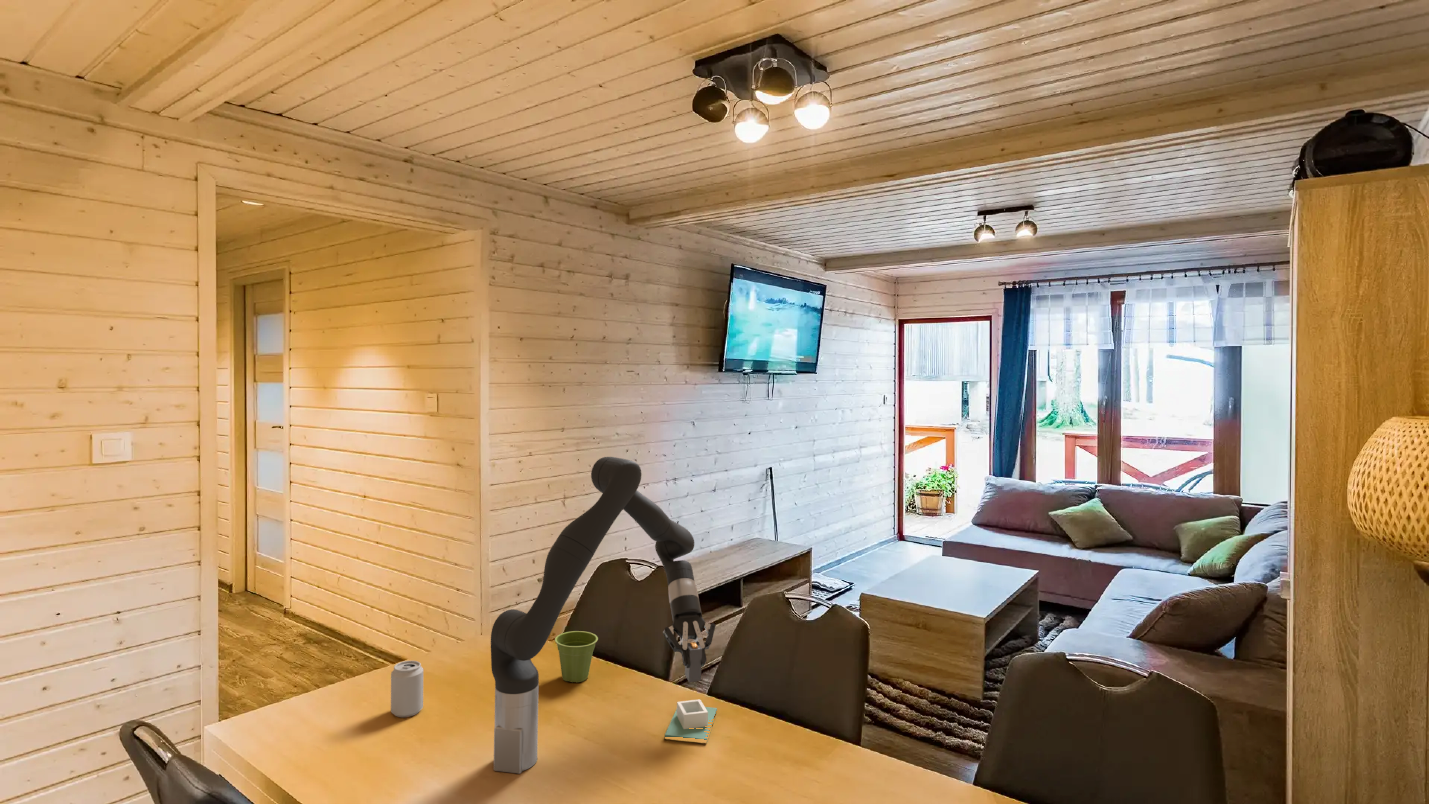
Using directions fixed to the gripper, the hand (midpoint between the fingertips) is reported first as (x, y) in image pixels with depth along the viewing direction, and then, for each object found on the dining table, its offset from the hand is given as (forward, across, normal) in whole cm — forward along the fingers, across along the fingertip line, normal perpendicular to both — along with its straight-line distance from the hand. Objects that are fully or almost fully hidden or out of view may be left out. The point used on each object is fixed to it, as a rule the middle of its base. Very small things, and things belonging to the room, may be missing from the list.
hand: (695, 665), depth 177 cm
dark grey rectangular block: (+1, 0, +4) cm, 4 cm away
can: (-7, -67, +30) cm, 74 cm away
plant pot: (-14, -24, +37) cm, 47 cm away
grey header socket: (+9, 0, +12) cm, 15 cm away
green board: (+10, 0, +13) cm, 16 cm away
